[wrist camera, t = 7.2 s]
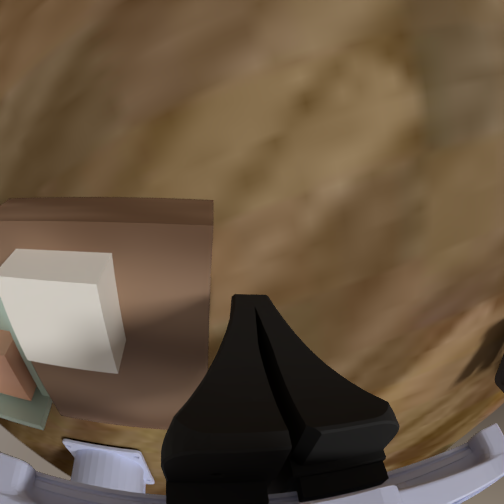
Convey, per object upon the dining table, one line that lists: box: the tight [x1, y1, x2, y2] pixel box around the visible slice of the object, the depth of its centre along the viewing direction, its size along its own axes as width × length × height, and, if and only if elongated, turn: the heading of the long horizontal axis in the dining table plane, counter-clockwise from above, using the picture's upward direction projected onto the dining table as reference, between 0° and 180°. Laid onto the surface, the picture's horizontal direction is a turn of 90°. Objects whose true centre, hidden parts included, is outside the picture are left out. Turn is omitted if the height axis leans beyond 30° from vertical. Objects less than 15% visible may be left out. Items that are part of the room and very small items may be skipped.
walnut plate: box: [0, 197, 213, 430], centre depth 15 cm, size 14×10×2 cm
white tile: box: [0, 249, 126, 374], centre depth 11 cm, size 4×4×2 cm
